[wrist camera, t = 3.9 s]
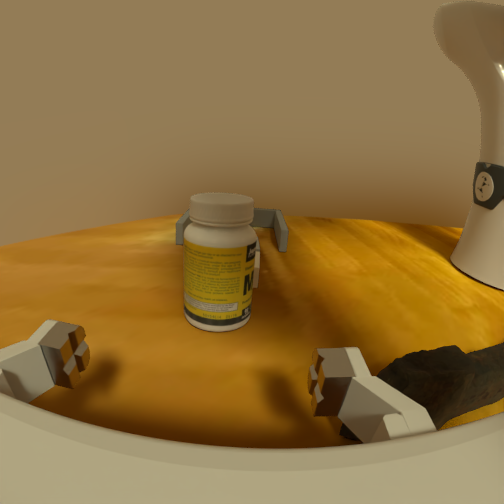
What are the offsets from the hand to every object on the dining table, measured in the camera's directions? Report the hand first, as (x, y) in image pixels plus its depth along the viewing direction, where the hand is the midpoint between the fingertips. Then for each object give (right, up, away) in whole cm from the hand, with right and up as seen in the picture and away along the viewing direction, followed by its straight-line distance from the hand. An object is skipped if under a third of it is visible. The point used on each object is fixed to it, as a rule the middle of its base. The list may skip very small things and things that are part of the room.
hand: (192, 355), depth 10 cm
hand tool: (+15, -6, +3) cm, 17 cm away
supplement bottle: (-1, -1, +12) cm, 12 cm away
